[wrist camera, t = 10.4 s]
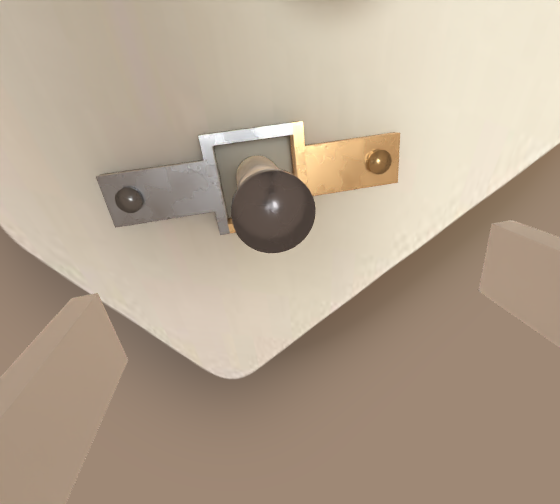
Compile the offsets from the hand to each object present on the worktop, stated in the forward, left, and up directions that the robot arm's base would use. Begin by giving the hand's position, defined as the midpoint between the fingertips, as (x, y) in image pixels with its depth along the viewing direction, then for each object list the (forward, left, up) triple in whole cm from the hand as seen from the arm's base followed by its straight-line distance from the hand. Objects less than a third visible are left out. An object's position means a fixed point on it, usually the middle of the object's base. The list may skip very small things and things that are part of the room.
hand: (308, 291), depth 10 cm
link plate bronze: (0, +5, -23) cm, 23 cm away
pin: (0, 0, -23) cm, 23 cm away
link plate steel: (0, -6, -23) cm, 23 cm away
